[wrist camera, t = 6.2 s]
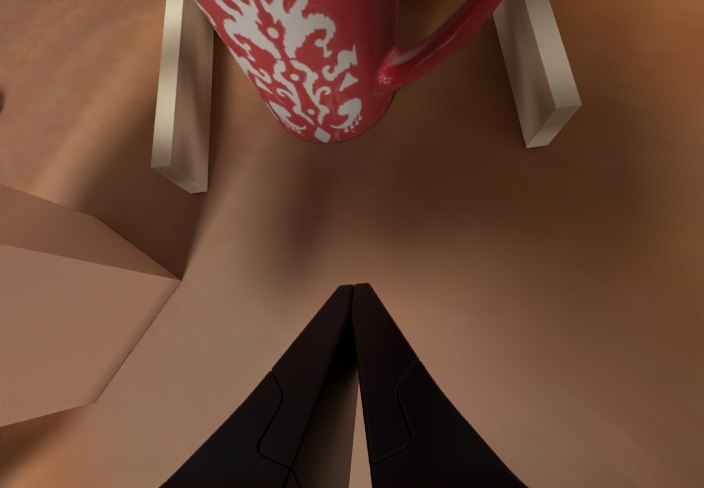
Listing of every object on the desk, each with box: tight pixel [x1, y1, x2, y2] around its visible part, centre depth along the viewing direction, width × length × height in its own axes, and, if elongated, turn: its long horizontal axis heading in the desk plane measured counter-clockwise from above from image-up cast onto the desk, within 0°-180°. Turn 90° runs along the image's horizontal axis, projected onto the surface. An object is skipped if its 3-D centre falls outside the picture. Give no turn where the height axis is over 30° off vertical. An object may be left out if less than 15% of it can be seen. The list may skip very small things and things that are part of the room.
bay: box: [151, 0, 582, 194], centre depth 17 cm, size 12×19×3 cm, turn 95°
